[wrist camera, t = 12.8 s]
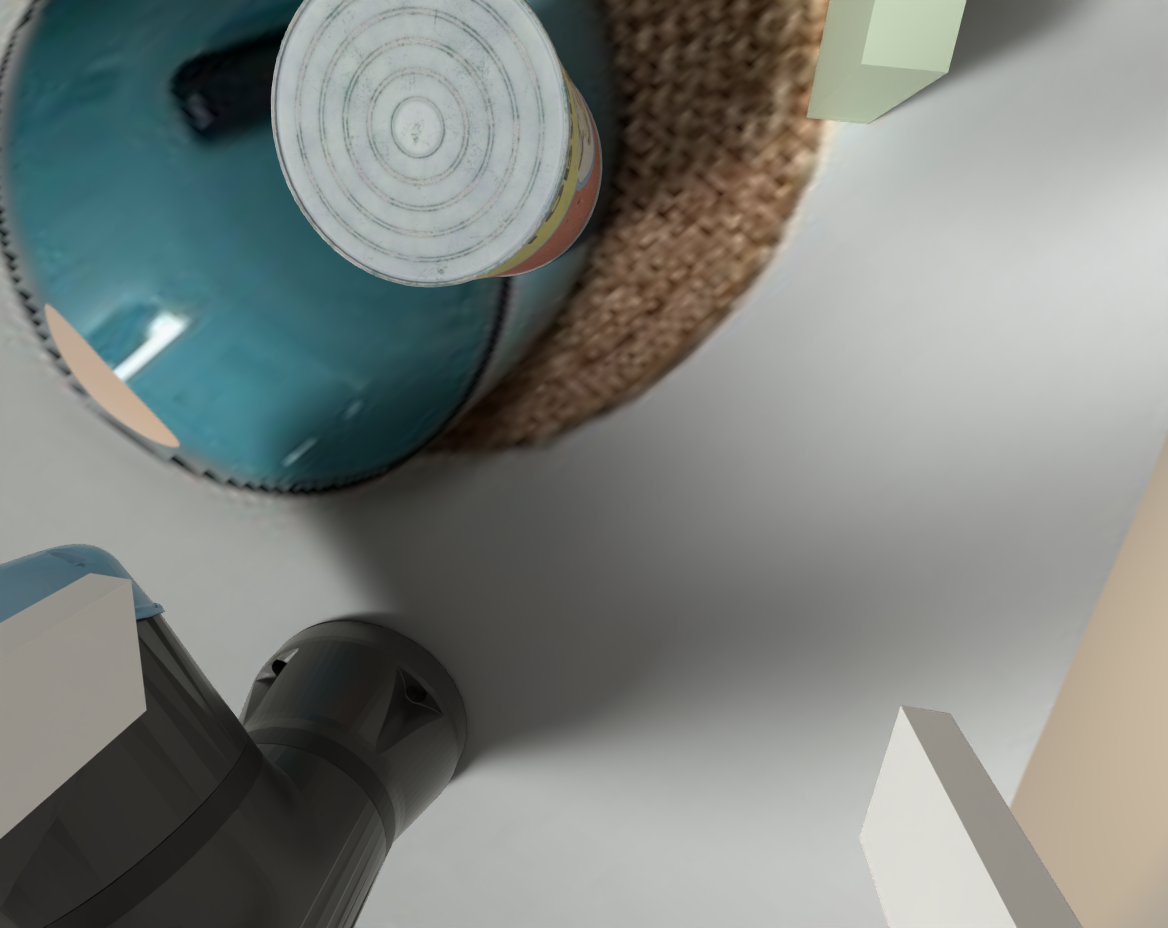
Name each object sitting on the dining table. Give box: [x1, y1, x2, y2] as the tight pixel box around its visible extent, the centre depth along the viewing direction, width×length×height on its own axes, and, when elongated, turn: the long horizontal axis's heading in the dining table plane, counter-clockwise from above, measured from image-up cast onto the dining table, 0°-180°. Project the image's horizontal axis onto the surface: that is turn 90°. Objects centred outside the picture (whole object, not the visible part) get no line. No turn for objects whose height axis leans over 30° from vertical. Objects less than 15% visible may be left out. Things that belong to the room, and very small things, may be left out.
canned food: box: [271, 0, 602, 287], centre depth 30 cm, size 11×11×12 cm
